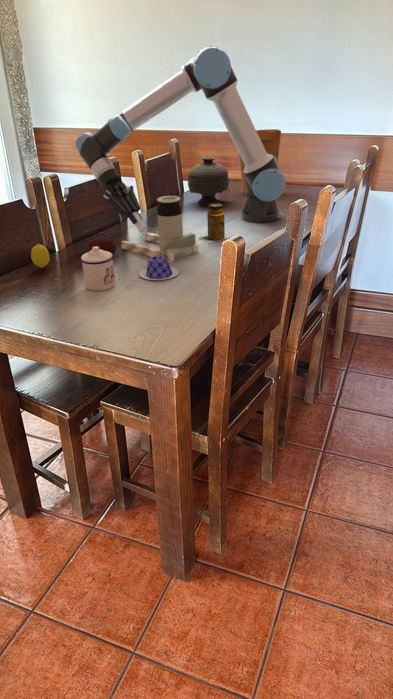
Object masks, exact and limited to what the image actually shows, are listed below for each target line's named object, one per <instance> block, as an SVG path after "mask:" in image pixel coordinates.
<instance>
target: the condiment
mask: <svg viewBox="0 0 393 699" xmlns="http://www.w3.org/2000/svg"><path fill="white" fill-rule="evenodd" d="M207 207H208V208H207V209H208V210H207V211H208V212H207V214H206V215H207V217H206V220H207V235H204V236H200V237H199V239H200V240H202V241H204V242H207V243H209V244H212V243H215V242H216V243H217V242H222V241H224V239H225V241H226V240H229V239H230V238H229V237H227V236H225V235H226V234H225V229H226V228H225V227H226V226H225V216H226V215H225V212H224V205H223V203H220V204H219V203H214V204H210V205H209V206H207ZM226 238H227V239H226Z"/></svg>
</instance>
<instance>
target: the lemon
mask: <svg viewBox="0 0 393 699" xmlns="http://www.w3.org/2000/svg"><path fill="white" fill-rule="evenodd" d="M30 257H31V261H32V262H33V264H34V265H35V266H37V268H38V267H39V268H41V269H44V268H45V266H47V265H48V264H49V262H50V253H49V251H48V249H47V247H46V246H45V245H42V244H40V243H37V244H36V245H34V246H33V247H32V249H31V253H30ZM43 267H44V268H43Z"/></svg>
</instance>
